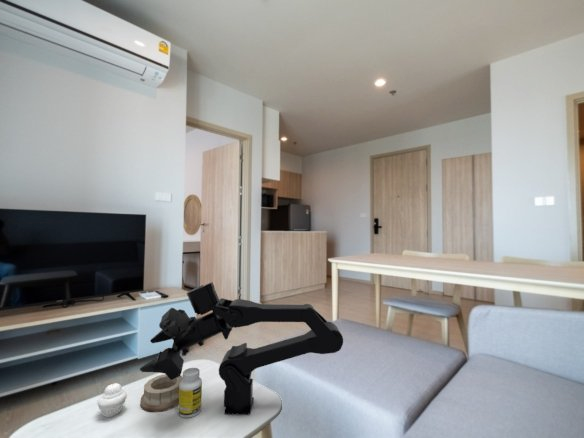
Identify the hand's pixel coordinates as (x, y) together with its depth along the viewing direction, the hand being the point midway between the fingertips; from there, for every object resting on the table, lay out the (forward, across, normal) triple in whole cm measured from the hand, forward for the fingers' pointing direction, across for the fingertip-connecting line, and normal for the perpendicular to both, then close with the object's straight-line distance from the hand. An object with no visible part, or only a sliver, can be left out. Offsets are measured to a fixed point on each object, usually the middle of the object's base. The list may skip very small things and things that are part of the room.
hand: (146, 355), depth 71 cm
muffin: (+12, +5, +8) cm, 15 cm away
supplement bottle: (-5, +8, +15) cm, 18 cm away
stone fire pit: (+3, +2, +14) cm, 14 cm away
